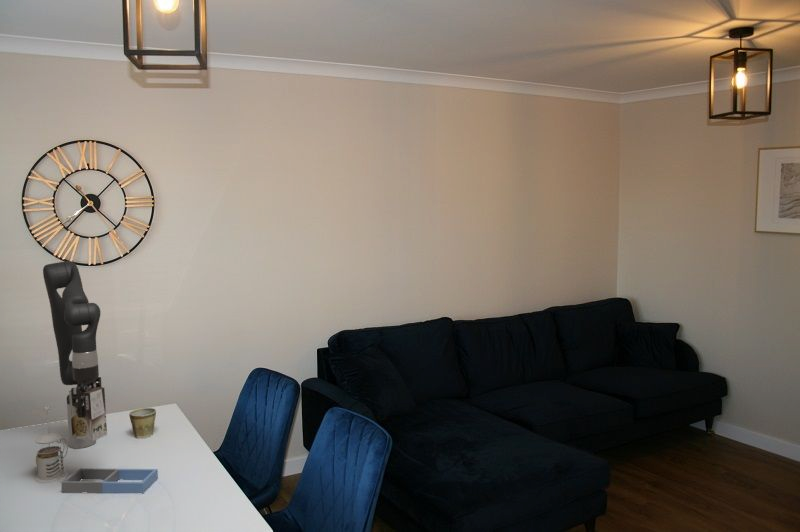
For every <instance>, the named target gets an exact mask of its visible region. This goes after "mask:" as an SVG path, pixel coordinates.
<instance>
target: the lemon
mask: <svg viewBox="0 0 800 532" xmlns="http://www.w3.org/2000/svg"><path fill="white" fill-rule="evenodd" d="M37 455H38V452H37V453H36V456H35V464H36V465H37V464H38V463H37ZM45 456H51V455H43V456H41V457H40V459H41V458H43V457H45ZM45 459H47V458H45ZM46 466H48V467H50V466H52V465H46Z"/></svg>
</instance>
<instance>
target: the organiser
mask: <svg viewBox="0 0 800 532" xmlns="http://www.w3.org/2000/svg"><path fill="white" fill-rule="evenodd" d="M81 479H104V480H101V481H96V480H94V481H93V480H90V481H89V480H86V481H85V480H81ZM120 479H123V480H122V481H121V480H120ZM157 479H158V480H159V472H158V468H89V467H87V468H86V467H85V468H84V467H83V468H82V467H81V468H79V469H77V470H76V471H75V472H73V473H72V474H70V476H68V477H67V478H64V479H63V481H61V482H60V483H61V493H62V494H83V493H82V492H87V493H86V494H117V493H142V494H141V495H143V493H144V492H145V491H146V490H147V489H148V488H149V487H150V486H151V485H152V484H153V483H154V482H155V481H156V482H157V481H158V480H157ZM80 480H81V481H80ZM118 480H119V481H118ZM156 482H155V483H156ZM155 483H154V484H155ZM152 486H153V485H152ZM152 486H151V487H152ZM151 487H150V488H151ZM150 488H149V489H150ZM149 489H148V490H149ZM148 490H147V491H148ZM147 491H146V492H147ZM146 492H145V493H146ZM145 493H144V494H145Z"/></svg>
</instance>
